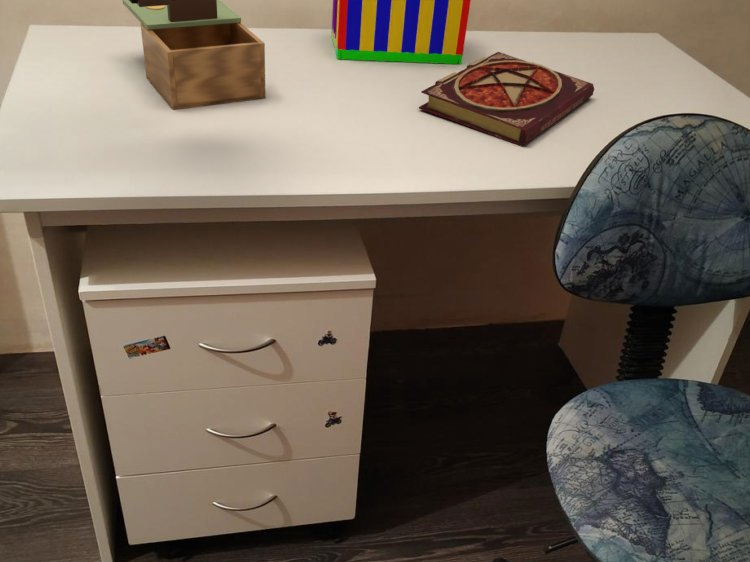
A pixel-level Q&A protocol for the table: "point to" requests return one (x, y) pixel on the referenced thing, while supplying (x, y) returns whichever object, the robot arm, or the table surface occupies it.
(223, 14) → the lid
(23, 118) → the table surface
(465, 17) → the toy house
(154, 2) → the block
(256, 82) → the wooden open box
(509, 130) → the book
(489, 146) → the table surface
